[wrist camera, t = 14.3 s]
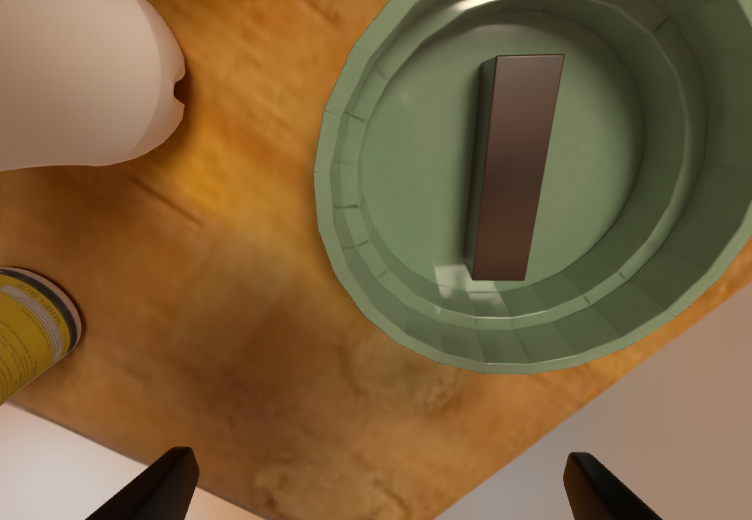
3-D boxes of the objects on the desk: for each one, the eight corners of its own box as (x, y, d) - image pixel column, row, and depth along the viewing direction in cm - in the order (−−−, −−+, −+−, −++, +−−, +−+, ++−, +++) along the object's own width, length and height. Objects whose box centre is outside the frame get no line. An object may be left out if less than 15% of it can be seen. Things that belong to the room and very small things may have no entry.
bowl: (290, 46, 15) (240, 19, 10) (674, -88, 13) (851, -207, 8) (383, 330, 21) (380, 401, 16) (659, 272, 19) (756, 335, 14)
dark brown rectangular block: (509, 260, 18) (525, 281, 16) (462, 259, 18) (471, 281, 16) (539, 60, 15) (566, 53, 12) (480, 61, 15) (496, 55, 12)
